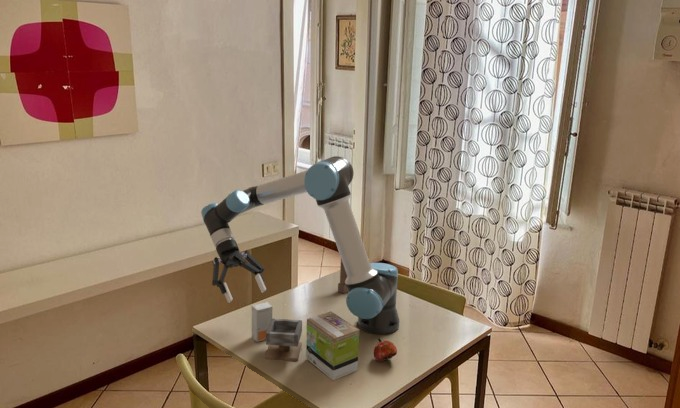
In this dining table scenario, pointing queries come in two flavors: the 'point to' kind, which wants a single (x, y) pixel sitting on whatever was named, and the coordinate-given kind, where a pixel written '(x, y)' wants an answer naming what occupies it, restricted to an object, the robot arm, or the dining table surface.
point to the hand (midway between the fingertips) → (247, 296)
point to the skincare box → (261, 320)
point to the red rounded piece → (384, 350)
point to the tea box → (332, 345)
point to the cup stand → (284, 339)
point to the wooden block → (342, 279)
